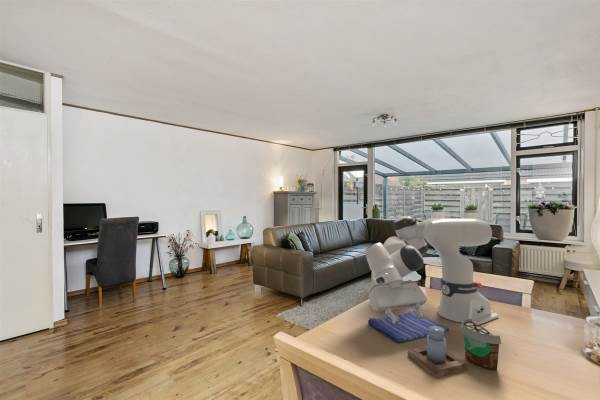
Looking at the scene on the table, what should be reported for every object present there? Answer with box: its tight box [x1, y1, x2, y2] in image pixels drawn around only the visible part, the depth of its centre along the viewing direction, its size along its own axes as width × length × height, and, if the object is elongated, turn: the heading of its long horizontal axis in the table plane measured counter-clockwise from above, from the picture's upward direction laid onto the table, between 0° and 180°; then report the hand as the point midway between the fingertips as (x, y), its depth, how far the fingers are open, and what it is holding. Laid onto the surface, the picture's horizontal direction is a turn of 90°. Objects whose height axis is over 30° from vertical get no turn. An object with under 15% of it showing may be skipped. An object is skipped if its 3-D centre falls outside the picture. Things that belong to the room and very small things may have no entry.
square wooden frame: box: [407, 345, 469, 378], centre depth 83 cm, size 11×11×2 cm
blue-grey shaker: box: [426, 326, 447, 365], centre depth 83 cm, size 5×5×9 cm
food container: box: [460, 319, 502, 371], centre depth 84 cm, size 12×6×10 cm, turn 5°
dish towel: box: [367, 310, 450, 344], centre depth 106 cm, size 17×24×3 cm
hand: (408, 320), depth 94 cm, fingers open, 8 cm apart
